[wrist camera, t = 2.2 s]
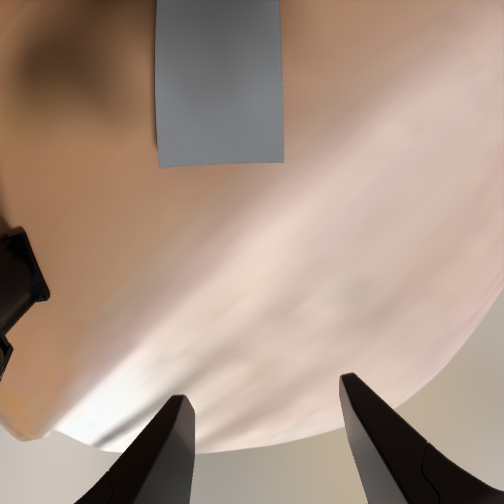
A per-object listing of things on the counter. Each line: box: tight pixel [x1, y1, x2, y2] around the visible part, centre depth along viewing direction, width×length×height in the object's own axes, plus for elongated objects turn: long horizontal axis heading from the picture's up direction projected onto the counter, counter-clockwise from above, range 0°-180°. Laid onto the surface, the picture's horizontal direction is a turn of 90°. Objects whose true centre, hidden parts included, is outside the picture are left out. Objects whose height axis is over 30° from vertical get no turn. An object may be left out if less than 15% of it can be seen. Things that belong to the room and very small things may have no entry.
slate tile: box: [155, 0, 284, 168], centre depth 14 cm, size 14×7×2 cm, turn 1°
